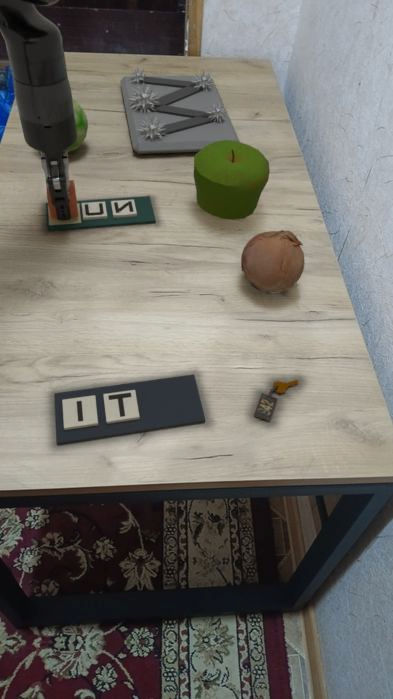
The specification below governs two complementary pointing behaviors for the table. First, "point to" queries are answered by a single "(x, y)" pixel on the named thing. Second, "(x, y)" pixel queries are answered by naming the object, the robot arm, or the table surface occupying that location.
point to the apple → (229, 179)
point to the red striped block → (72, 202)
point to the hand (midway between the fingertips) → (63, 209)
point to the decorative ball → (79, 126)
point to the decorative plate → (174, 113)
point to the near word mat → (127, 409)
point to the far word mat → (106, 214)
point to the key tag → (271, 400)
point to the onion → (273, 261)
